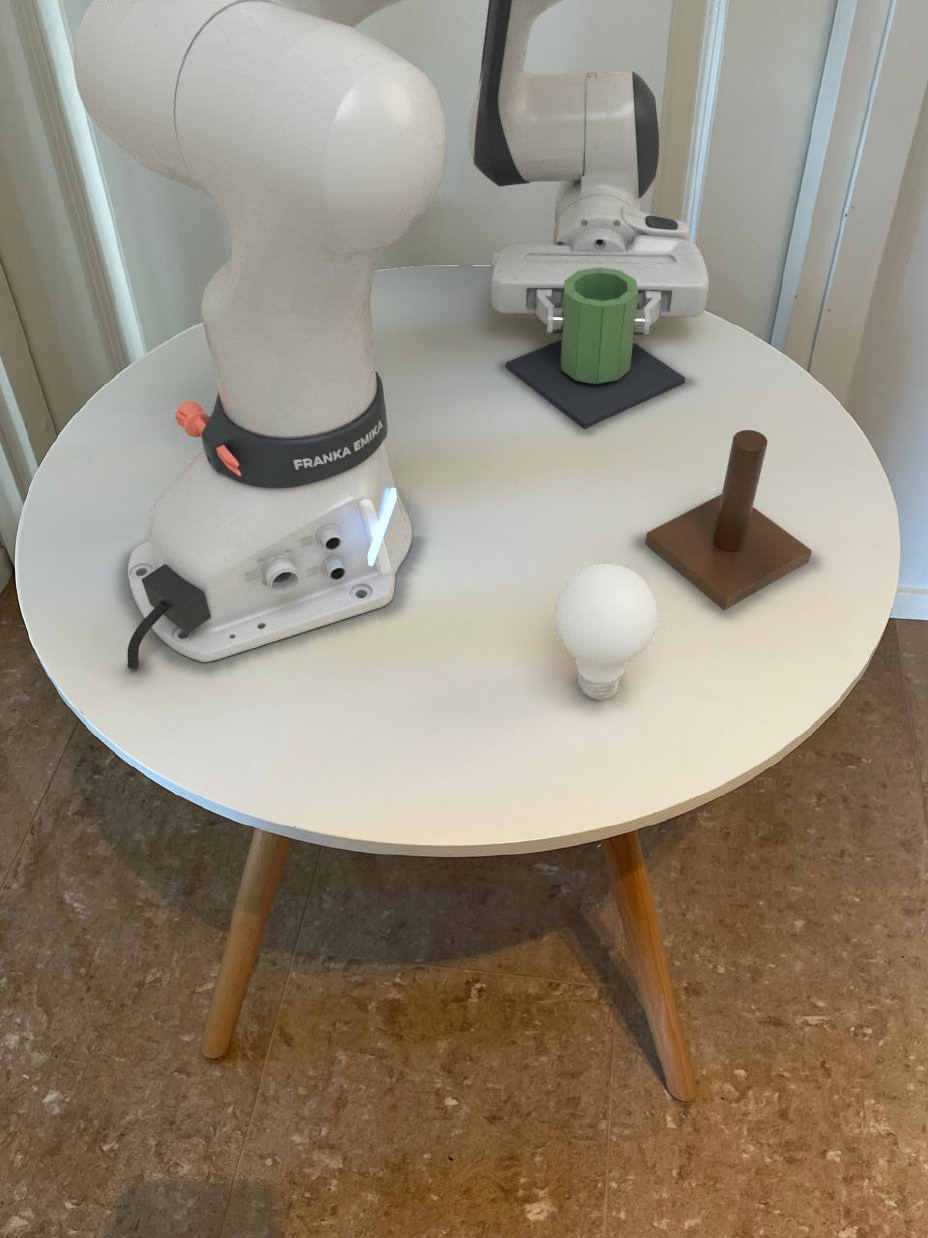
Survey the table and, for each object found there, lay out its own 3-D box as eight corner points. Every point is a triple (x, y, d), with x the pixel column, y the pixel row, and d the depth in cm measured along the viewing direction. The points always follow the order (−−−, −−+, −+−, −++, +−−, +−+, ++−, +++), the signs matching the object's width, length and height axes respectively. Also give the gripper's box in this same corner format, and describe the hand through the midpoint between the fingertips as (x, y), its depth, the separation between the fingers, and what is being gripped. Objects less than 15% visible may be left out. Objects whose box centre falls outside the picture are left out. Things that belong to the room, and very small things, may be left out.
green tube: (590, 392, 96) (596, 313, 90) (546, 358, 100) (549, 281, 94) (644, 368, 98) (653, 290, 92) (599, 336, 102) (605, 259, 96)
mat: (584, 429, 94) (584, 423, 94) (505, 367, 101) (505, 362, 101) (685, 383, 99) (685, 377, 98) (603, 327, 106) (603, 321, 105)
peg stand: (724, 610, 79) (749, 497, 71) (644, 543, 84) (659, 431, 76) (809, 561, 82) (843, 448, 74) (727, 500, 87) (750, 388, 79)
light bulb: (641, 735, 71) (659, 624, 63) (543, 720, 72) (548, 609, 64) (649, 661, 76) (667, 548, 67) (557, 648, 77) (563, 536, 69)
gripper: (492, 219, 103) (483, 293, 94) (705, 222, 102) (717, 297, 92) (493, 278, 108) (484, 355, 98) (696, 282, 106) (706, 360, 97)
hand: (598, 327), depth 95 cm, fingers closed on green tube, 6 cm apart
